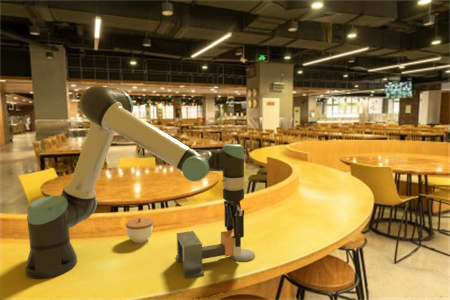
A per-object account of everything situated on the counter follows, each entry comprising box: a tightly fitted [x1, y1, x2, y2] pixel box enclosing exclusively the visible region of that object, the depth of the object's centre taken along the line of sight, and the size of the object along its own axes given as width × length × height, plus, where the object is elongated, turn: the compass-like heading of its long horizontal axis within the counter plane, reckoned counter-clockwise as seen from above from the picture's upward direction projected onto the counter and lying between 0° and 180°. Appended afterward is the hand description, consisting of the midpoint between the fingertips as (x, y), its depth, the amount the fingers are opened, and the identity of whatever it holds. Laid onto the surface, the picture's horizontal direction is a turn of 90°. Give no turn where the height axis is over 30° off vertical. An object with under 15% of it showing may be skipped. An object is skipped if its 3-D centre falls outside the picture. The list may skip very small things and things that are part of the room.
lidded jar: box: [125, 217, 154, 244], centre depth 123 cm, size 11×11×9 cm
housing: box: [175, 230, 205, 280], centre depth 101 cm, size 16×6×10 cm, turn 21°
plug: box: [202, 229, 234, 260], centre depth 104 cm, size 5×18×7 cm, turn 109°
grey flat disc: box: [229, 248, 256, 263], centre depth 109 cm, size 9×9×1 cm
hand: (233, 250), depth 107 cm, fingers closed on plug, 5 cm apart
